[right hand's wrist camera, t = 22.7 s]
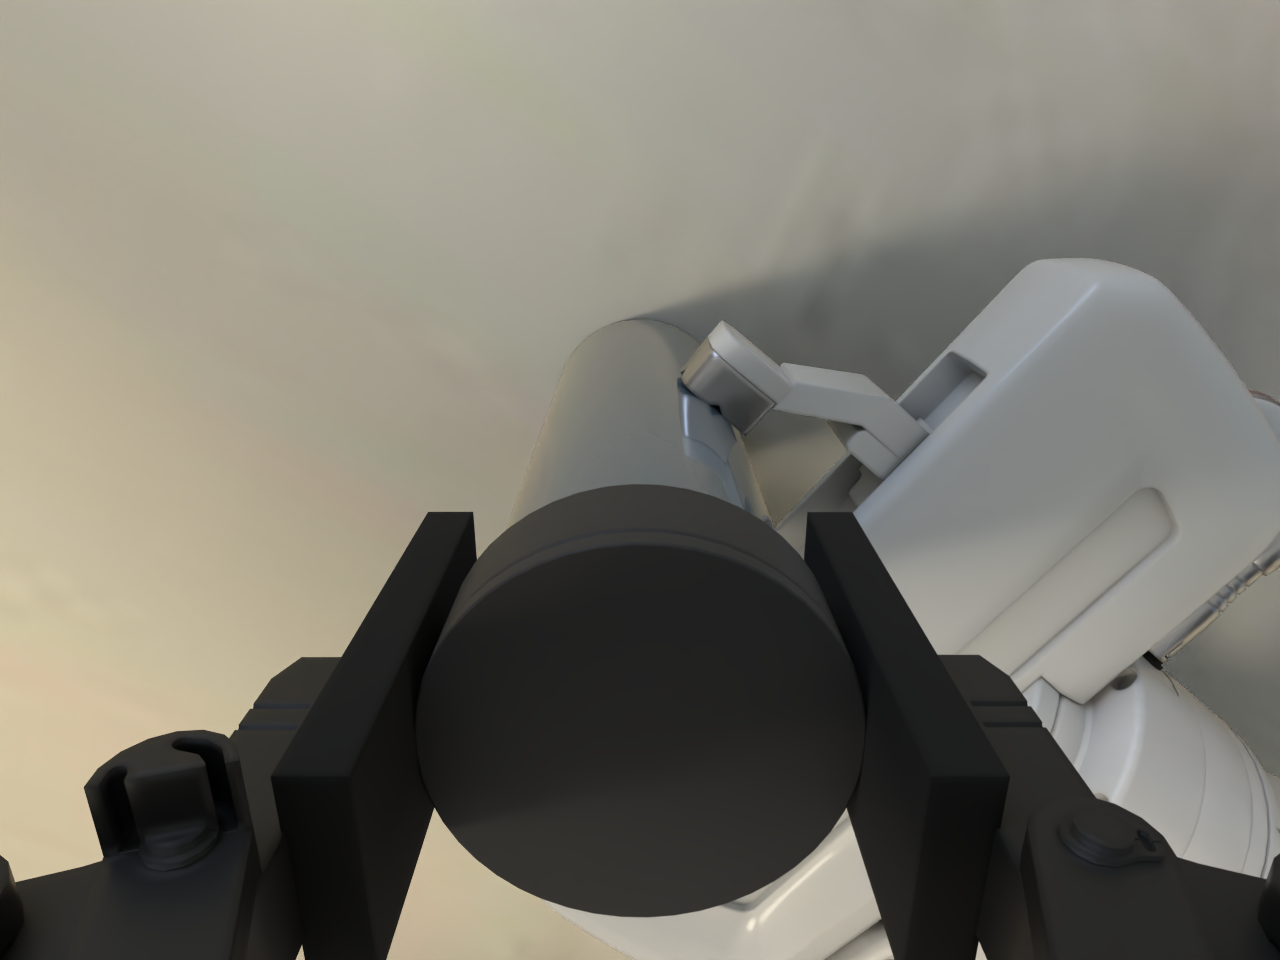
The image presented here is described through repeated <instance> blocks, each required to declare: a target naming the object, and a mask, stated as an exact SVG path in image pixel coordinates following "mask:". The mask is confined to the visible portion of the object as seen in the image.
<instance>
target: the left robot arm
mask: <svg viewBox="0 0 1280 960" xmlns="http://www.w3.org/2000/svg"><path fill="white" fill-rule="evenodd" d="M680 373H681V374H682V377H681V379H682V381H683V383H684V384H685V386H686V387H687V388H688V389H689V390H690V391H691V392H692V393H693V394H694V395H696V396H697V397H698V398H699V399H700V400H702V401H704V402H706V403H707V404H708V405H719V409H720V411H721V414H722V416H723V417H724V418H725V419H726V420H727V421H728V422H729V423H730V424H731V425H732V426H734V427H735V428H736V429H737V430H739V431H740V432H741V433H742V434H744V435H745V436H746V435H747V434H748V433H749V432H750V430H751V429H752V428H753V427H754V426H755V425H756V424H757V423H758V422H759V421H760V420H761V419H762V418H763V417H764V416H765V415H766V414H767V413H768V412H769V410H770V409H771V408H772V409H773V410H776V411H781V412H787V413H792V414H798V415H803V416H809V417H815V418H820V419H826V420H827V423H828V424H829V425H830V427H831V428H832V429H833V431H834V432H835V434H836V435H837V436H838V438H839V439H840V441H841V442H842V443H843V445H844V446H845V448H846V449H847V450H848V452H847V453H846V454H845V455H844V456H843V457H842V458H841V459H840V460H839V461H838V462H837V463H836V464H835V465H834V466H833V467H832V468H831V469H830V470H829V471H828V472H827V473H826V475H825V476H824V477H823V478H822V479H821V480H820V481H819V482H818V483H817V484H816V485H815V486H814V487H813V488H812V489H811V490H810V491H809V492H808V493H807V494H806V495H805V496H804V497H803V499H802V500H801V501H800V502H799V503H798V504H797V505H796V506H795V507H794V508H793V509H792V510H791V511H790V512H789V513H788V514H787V515H786V516H785V517H784V518H783V519H782V520H781V521H780V523H779V524H778V525H777V526H776V527H775V531H776V532H777V533H779V534H780V535H781V536H782V537H783V538H784V539H785V540H786V541H787V542H788V543H789V544H790V545H791V546H792V547H793V548H794V549H795V550H796V551H797V552H798V553H799V554H800V556H801V557H802V559H803V560H804V551H805V537H806V524H807V512H853V514H854V516H855V517H856V519H857V521H858V522H859V524H860V526H861V527H862V529H863V531H864V532H865V534H866V536H867V537H868V539H869V541H870V542H871V544H872V546H873V548H874V549H875V551H876V553H877V554H878V556H879V558H880V559H881V561H882V563H883V564H884V566H885V568H886V569H887V571H888V573H889V574H890V576H891V578H892V579H893V581H894V583H895V584H896V586H897V588H898V589H899V591H900V593H901V594H902V596H903V598H904V599H905V601H906V603H907V604H908V606H909V608H910V609H911V611H912V613H913V614H914V616H915V618H916V619H917V621H918V623H919V625H920V626H921V628H922V630H923V631H924V633H925V635H926V636H927V638H928V640H929V641H930V643H931V645H932V646H933V648H934V650H935V651H936V653H937V655H980V656H982V657H983V658H985V659H986V660H987V661H989V662H990V663H992V664H993V665H994V666H996V667H997V668H999V669H1000V670H1002V671H1003V672H1004V673H1006V674H1007V675H1009V676H1010V677H1011V679H1012V680H1013V682H1014V683H1015V684H1016V686H1017V687H1018V689H1019V690H1020V691H1021V693H1022V694H1023V696H1024V697H1025V698H1026V700H1027V704H1028V706H1031V707H1032V708H1033V710H1034V711H1035V713H1036V714H1037V715H1038V717H1039V718H1040V720H1041V721H1042V726H1043V727H1046V728H1047V729H1048V731H1049V732H1050V734H1051V735H1052V736H1053V738H1054V739H1055V741H1056V742H1057V743H1058V745H1059V746H1060V748H1061V749H1062V750H1063V752H1064V753H1065V755H1066V756H1067V757H1068V759H1069V760H1070V762H1071V763H1072V765H1073V766H1074V767H1075V769H1076V770H1077V772H1078V773H1079V774H1080V776H1081V777H1082V779H1083V780H1084V781H1085V783H1086V784H1087V786H1088V787H1089V788H1090V790H1091V791H1092V793H1093V794H1094V795H1095V797H1096V798H1097V799H1100V800H1104V801H1107V802H1111V803H1114V804H1117V805H1118V806H1120V807H1122V808H1124V809H1126V810H1128V811H1130V812H1132V813H1134V814H1136V815H1138V816H1139V817H1141V818H1143V819H1144V820H1145V821H1146V822H1148V823H1149V824H1150V825H1151V826H1152V827H1154V828H1155V829H1156V830H1157V831H1158V832H1159V833H1161V834H1162V835H1163V836H1164V837H1165V839H1166V840H1167V842H1168V844H1169V845H1170V847H1171V848H1172V850H1173V851H1174V853H1175V854H1176V856H1177V857H1179V858H1182V859H1186V860H1189V861H1192V862H1196V863H1199V864H1203V865H1207V866H1212V867H1216V868H1220V869H1225V870H1229V871H1233V872H1238V873H1242V874H1246V875H1251V876H1255V877H1259V878H1264V879H1267V877H1268V874H1269V871H1270V868H1271V865H1272V862H1273V859H1274V857H1276V856H1277V855H1278V854H1279V853H1280V778H1278V777H1276V776H1274V775H1272V774H1269V773H1267V772H1265V771H1264V769H1263V768H1262V766H1261V765H1260V763H1259V761H1258V760H1257V758H1256V756H1255V755H1254V753H1253V752H1252V751H1251V750H1250V749H1249V747H1248V746H1247V745H1246V744H1245V743H1244V741H1243V740H1242V739H1241V738H1240V737H1239V736H1238V734H1237V733H1236V732H1235V731H1233V730H1232V729H1231V728H1230V727H1229V726H1228V725H1227V724H1226V723H1225V722H1224V721H1223V720H1221V719H1220V718H1219V717H1218V716H1217V715H1215V714H1214V713H1213V712H1212V711H1211V710H1210V709H1208V708H1207V707H1206V706H1205V705H1204V704H1203V703H1201V702H1200V701H1199V700H1198V699H1197V698H1196V697H1194V696H1193V695H1192V694H1191V693H1190V692H1189V691H1187V690H1186V689H1185V688H1184V687H1183V686H1182V685H1180V684H1179V683H1178V682H1177V681H1176V680H1175V679H1173V678H1172V677H1171V676H1170V675H1169V674H1167V673H1166V672H1165V671H1164V670H1163V667H1162V666H1161V664H1163V663H1165V662H1166V661H1167V660H1168V658H1170V657H1172V656H1173V655H1174V654H1175V653H1177V652H1178V651H1179V650H1180V649H1181V648H1183V647H1184V646H1185V645H1186V644H1187V643H1189V642H1190V641H1191V640H1192V639H1193V638H1195V637H1196V636H1197V635H1198V634H1200V633H1201V632H1202V631H1203V630H1204V629H1206V628H1207V627H1208V626H1209V625H1210V624H1211V623H1212V622H1213V621H1214V620H1215V619H1216V618H1217V617H1218V616H1219V615H1220V612H1223V611H1224V610H1225V609H1226V608H1227V607H1228V603H1232V602H1233V600H1234V599H1235V598H1236V597H1237V596H1236V595H1237V594H1241V593H1242V592H1243V591H1244V590H1245V589H1246V588H1245V587H1246V586H1248V587H1249V586H1250V585H1251V584H1253V583H1254V582H1255V581H1256V580H1257V579H1258V578H1259V577H1261V576H1262V575H1265V576H1267V575H1269V574H1270V573H1272V572H1274V571H1275V570H1276V569H1278V568H1279V567H1280V403H1279V402H1278V401H1276V400H1275V399H1273V398H1272V397H1270V396H1268V395H1265V394H1263V393H1261V392H1258V391H1253V390H1248V389H1247V387H1246V386H1245V384H1244V383H1243V381H1242V380H1241V379H1240V377H1239V376H1238V374H1237V373H1236V371H1235V370H1234V368H1233V367H1232V365H1231V364H1230V363H1229V361H1228V360H1227V359H1226V357H1225V356H1224V355H1223V353H1222V352H1221V351H1220V349H1219V348H1218V347H1217V345H1216V344H1215V343H1214V342H1213V340H1212V339H1211V338H1210V336H1209V335H1208V334H1207V332H1206V331H1205V330H1204V329H1203V327H1202V326H1201V325H1200V324H1199V323H1198V321H1197V320H1196V319H1195V318H1194V317H1193V315H1192V314H1191V313H1190V312H1189V311H1188V310H1187V308H1186V307H1185V306H1184V305H1183V304H1182V303H1181V302H1180V300H1179V299H1178V298H1177V297H1176V296H1175V295H1174V294H1173V293H1172V292H1171V291H1170V290H1169V289H1168V288H1167V287H1166V286H1165V285H1163V284H1162V283H1161V282H1160V281H1158V280H1157V279H1156V278H1154V277H1152V276H1150V275H1148V274H1146V273H1144V272H1142V271H1140V270H1137V269H1134V268H1132V267H1129V266H1126V265H1123V264H1119V263H1115V262H1112V261H1106V260H1100V259H1092V258H1057V259H1042V260H1037V261H1034V262H1032V263H1030V264H1028V265H1027V266H1026V267H1025V268H1023V269H1022V270H1021V271H1020V272H1019V273H1018V274H1017V275H1016V276H1015V277H1014V278H1013V279H1012V280H1011V281H1010V282H1009V283H1008V284H1007V285H1006V286H1005V287H1004V288H1003V289H1002V291H1001V292H1000V293H999V294H998V295H997V296H996V297H995V298H994V299H993V300H992V301H991V302H990V303H989V304H988V305H987V306H986V307H985V308H984V309H983V310H982V311H981V312H980V314H979V315H978V316H977V317H976V318H975V319H974V320H973V321H972V322H971V323H970V324H969V325H968V326H967V327H966V328H965V329H964V330H963V331H962V332H961V333H960V334H959V335H958V337H957V338H956V339H955V340H954V341H953V342H952V343H951V344H950V345H949V346H948V347H947V348H946V349H945V350H944V351H943V352H942V353H941V354H940V355H939V356H938V357H937V358H936V360H935V361H934V362H933V363H932V364H931V365H930V366H929V367H928V368H927V369H926V370H925V371H924V372H923V373H922V374H921V375H920V376H919V377H918V378H917V379H916V380H915V381H914V383H913V384H912V385H911V386H910V387H909V388H908V389H907V390H906V391H905V392H904V393H903V394H902V395H901V396H900V397H899V398H898V399H897V400H896V401H894V400H893V399H892V398H891V397H889V396H888V395H887V394H886V393H885V392H884V391H882V390H881V389H880V388H879V387H878V386H877V385H875V384H874V383H873V382H872V381H871V380H870V379H868V378H867V377H866V376H865V375H863V374H857V373H850V372H843V371H837V370H830V369H824V368H817V367H810V366H804V365H797V364H790V363H784V362H783V363H782V364H781V365H780V366H778V365H777V364H776V363H775V362H774V361H772V360H771V359H770V358H769V357H768V356H767V355H765V354H764V353H763V352H762V351H761V350H759V349H758V348H757V347H756V346H755V345H754V344H752V343H751V342H750V341H749V340H748V339H746V338H745V337H744V336H743V335H742V334H741V333H739V332H738V331H737V330H736V329H735V328H733V327H732V326H730V325H729V324H727V323H726V322H724V321H723V320H721V321H720V323H719V324H718V325H717V326H716V327H715V329H714V330H713V331H712V332H711V333H710V334H709V336H708V337H707V338H706V339H705V340H704V341H703V343H702V344H701V345H700V346H699V347H698V349H697V350H696V351H695V352H694V353H693V355H692V356H691V357H690V358H689V360H688V361H687V362H686V363H685V364H684V366H683V367H682V368H681V369H680ZM540 899H541V898H540ZM541 900H542V901H543V902H544V903H545V904H546V905H547V906H548V907H550V908H551V909H552V910H554V911H555V912H556V913H558V914H559V915H560V916H561V917H563V918H564V919H566V920H568V921H569V922H571V923H572V924H574V925H576V926H577V927H579V928H580V929H582V930H584V931H585V932H587V933H588V934H590V935H592V936H593V937H595V938H597V939H598V940H600V941H602V942H603V943H605V944H607V945H609V946H610V947H612V948H614V949H616V950H617V951H619V952H621V953H623V954H625V955H626V956H628V957H630V958H632V959H634V960H894V957H893V954H892V950H891V947H890V944H889V941H888V938H887V935H886V931H885V928H884V925H883V922H882V919H881V916H880V913H879V909H878V906H877V903H876V900H875V897H874V894H873V890H872V887H871V884H870V881H869V878H868V875H867V871H866V868H865V865H864V862H863V859H862V856H861V852H860V849H859V846H858V843H857V840H856V837H855V834H854V830H853V827H852V824H851V821H850V818H849V815H848V811H847V808H846V810H845V811H844V813H843V814H842V816H841V817H840V819H839V820H838V822H837V823H836V825H835V826H834V828H833V829H832V831H831V832H830V833H829V834H828V835H827V837H826V838H825V839H824V840H823V841H822V842H821V843H820V844H819V846H818V847H817V848H816V849H815V850H814V851H813V852H812V853H811V854H810V855H808V856H807V857H806V858H805V859H804V860H803V861H802V862H800V863H799V864H798V865H797V866H796V867H795V868H793V869H792V870H790V871H789V872H787V873H786V874H784V875H783V876H781V877H780V878H779V879H777V880H776V881H774V882H772V883H770V884H769V885H767V886H765V887H763V888H761V889H759V890H757V891H755V892H753V893H752V894H749V895H747V896H744V897H742V898H739V899H737V900H734V901H732V902H729V903H727V904H723V905H720V906H716V907H713V908H709V909H706V910H702V911H697V912H692V913H686V914H680V915H675V916H661V917H648V918H646V917H617V916H609V915H601V914H593V913H589V912H585V911H580V910H576V909H571V908H567V907H564V906H561V905H558V904H555V903H552V902H549V901H546V900H543V899H541ZM975 960H987V959H986V956H985V954H984V952H983V949H982V947H981V945H980V942H979V943H978V949H977V954H976V959H975Z"/></svg>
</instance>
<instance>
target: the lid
mask: <svg viewBox="0 0 1280 960" xmlns="http://www.w3.org/2000/svg"><path fill="white" fill-rule="evenodd" d="M866 723H867V715H866V709H865V703H864V697H863V691H862V688H861V685H860V682H859V679H858V676H857V673H856V670H855V667H854V665H853V662H852V660H851V657H850V655H849V653H848V651H847V648H846V646H845V643H844V641H843V638H842V636H841V634H840V631H839V629H838V626H837V624H836V622H835V619H834V617H833V615H832V612H831V610H830V607H829V605H828V603H827V600H826V598H825V596H824V593H823V591H822V589H821V588H820V586H819V584H818V582H817V580H816V578H815V576H814V574H813V572H812V571H811V570H810V568H809V567H808V566H807V564H806V563H805V561H804V560H803V559H802V557H801V556H800V554H799V553H798V552H797V551H796V550H795V549H794V548H793V547H792V546H791V545H790V544H789V543H788V542H787V541H786V540H785V539H784V538H783V537H782V536H781V535H780V534H779V533H777V532H776V531H775V530H774V529H772V528H771V527H770V526H768V525H767V524H766V523H765V522H763V521H762V520H761V519H759V518H757V517H755V516H754V515H752V514H750V513H749V512H747V511H745V510H744V509H742V508H740V507H738V506H736V505H733V504H731V503H729V502H726V501H724V500H722V499H719V498H717V497H715V496H711V495H708V494H704V493H701V492H697V491H694V490H690V489H685V488H678V487H672V486H665V485H650V484H628V485H617V486H607V487H601V488H597V489H592V490H588V491H583V492H579V493H576V494H573V495H570V496H567V497H565V498H562V499H559V500H556V501H553V502H551V503H549V504H547V505H546V506H544V507H542V508H540V509H538V510H536V511H534V512H532V513H530V514H528V515H527V516H525V517H524V518H522V519H521V520H520V521H518V522H517V523H515V524H514V525H512V526H511V527H509V528H508V529H507V530H506V531H505V532H504V533H502V534H501V535H500V536H499V537H498V538H497V539H496V540H495V541H494V542H493V543H491V544H490V545H489V547H488V548H487V549H486V550H485V551H484V553H483V554H482V555H481V556H480V557H479V559H478V560H477V561H476V562H475V563H474V565H473V566H472V568H471V570H470V571H469V573H468V575H467V576H466V578H465V580H464V581H463V583H462V585H461V587H460V589H459V592H458V594H457V597H456V599H455V601H454V604H453V606H452V608H451V611H450V613H449V616H448V618H447V620H446V623H445V625H444V627H443V630H442V632H441V635H440V637H439V639H438V642H437V644H436V647H435V649H434V651H433V654H432V656H431V658H430V661H429V663H428V666H427V668H426V670H425V673H424V675H423V678H422V681H421V685H420V689H419V693H418V697H417V701H416V707H415V719H414V731H415V741H416V750H417V758H418V765H419V769H420V773H421V778H422V780H423V783H424V785H425V788H426V790H427V793H428V795H429V798H430V800H431V802H432V804H433V805H434V807H435V809H436V811H437V812H438V814H439V816H440V817H441V819H442V821H443V822H444V824H445V825H446V826H447V828H448V829H449V830H450V831H451V833H452V834H453V835H454V837H455V838H456V839H457V840H458V842H459V843H460V844H461V845H462V846H463V847H464V848H465V849H466V850H467V851H468V852H469V853H470V854H472V855H473V856H474V857H475V858H476V859H477V860H478V861H479V862H481V863H482V864H483V865H484V866H486V867H487V868H488V869H490V870H491V871H492V872H493V873H495V874H496V875H498V876H499V877H501V878H503V879H504V880H506V881H508V882H509V883H511V884H513V885H514V886H516V887H518V888H519V889H522V890H524V891H526V892H528V893H530V894H532V895H535V896H537V897H539V898H541V899H543V900H546V901H549V902H552V903H555V904H558V905H561V906H564V907H567V908H571V909H576V910H580V911H585V912H589V913H593V914H601V915H609V916H617V917H646V918H648V917H661V916H675V915H680V914H686V913H692V912H697V911H702V910H706V909H709V908H713V907H716V906H720V905H723V904H727V903H729V902H732V901H734V900H737V899H739V898H742V897H744V896H747V895H749V894H752V893H753V892H755V891H757V890H759V889H761V888H763V887H765V886H767V885H769V884H770V883H772V882H774V881H776V880H777V879H779V878H780V877H781V876H783V875H784V874H786V873H787V872H789V871H790V870H792V869H793V868H795V867H796V866H797V865H798V864H799V863H800V862H802V861H803V860H804V859H805V858H806V857H807V856H808V855H810V854H811V853H812V852H813V851H814V850H815V849H816V848H817V847H818V846H819V844H820V843H821V842H822V841H823V840H824V839H825V838H826V837H827V835H828V834H829V833H830V832H831V831H832V829H833V828H834V826H835V825H836V823H837V822H838V820H839V819H840V817H841V816H842V814H843V813H844V811H845V810H846V807H847V805H848V803H849V801H850V799H851V797H852V795H853V793H854V791H855V789H856V786H857V782H858V779H859V776H860V773H861V770H862V764H863V755H864V747H865V738H866Z"/></svg>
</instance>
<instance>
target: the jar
mask: <svg viewBox="0 0 1280 960" xmlns="http://www.w3.org/2000/svg"><path fill="white" fill-rule="evenodd" d="M699 346H700V344H699V343H698V342H697V341H696V340H695V339H694V338H693V337H691V336H690V335H689V334H687V333H686V332H684V331H682V330H681V329H679V328H677V327H674V326H672V325H670V324H667V323H663V322H660V321H655V320H647V319H634V320H626V321H621V322H617V323H614V324H611V325H609V326H606V327H604V328H602V329H600V330H598V331H597V332H595V333H593V334H592V335H591V336H589V337H588V338H587V339H585V340H584V341H583V342H582V343H581V344H580V345H579V346H578V347H577V348H576V350H575V351H574V352H573V354H572V355H571V356H570V358H569V360H568V362H567V364H566V365H565V368H564V370H563V373H562V375H561V378H560V381H559V384H558V386H557V389H556V392H555V395H554V397H553V400H552V403H551V406H550V408H549V411H548V414H547V417H546V419H545V422H544V425H543V428H542V431H541V433H540V436H539V439H538V442H537V444H536V447H535V450H534V453H533V455H532V458H531V461H530V464H529V466H528V469H527V472H526V475H525V478H524V480H523V483H522V486H521V489H520V491H519V494H518V497H517V500H516V502H515V505H514V508H513V511H512V513H511V516H510V519H509V522H508V525H507V527H506V530H507V529H508V528H509V527H511V526H512V525H514V524H515V523H517V522H518V521H520V520H521V519H522V518H524V517H525V516H527V515H528V514H530V513H532V512H534V511H536V510H538V509H540V508H542V507H544V506H546V505H547V504H549V503H551V502H553V501H556V500H559V499H562V498H565V497H567V496H570V495H573V494H576V493H579V492H583V491H588V490H592V489H597V488H601V487H607V486H617V485H628V484H650V485H665V486H672V487H678V488H685V489H690V490H694V491H697V492H701V493H704V494H708V495H711V496H715V497H717V498H719V499H722V500H724V501H726V502H729V503H731V504H733V505H736V506H738V507H740V508H742V509H744V510H745V511H747V512H749V513H750V514H752V515H754V516H755V517H757V518H759V519H761V520H762V521H763V522H765V523H766V524H767V525H768V526H770V527H771V528H772V529H774V530H775V528H774V525H773V523H772V520H771V517H770V514H769V511H768V509H767V506H766V503H765V500H764V498H763V495H762V492H761V489H760V487H759V484H758V481H757V478H756V476H755V473H754V470H753V467H752V465H751V462H750V459H749V456H748V454H747V451H746V448H745V445H744V443H743V440H742V437H741V434H740V432H739V430H737V429H736V428H735V427H734V426H732V425H731V424H730V423H729V422H728V421H727V420H726V419H725V418H724V417H723V416H722V414H721V411H720V409H719V405H708V404H707V403H706V402H704V401H702V400H700V399H699V398H698V397H697V396H696V395H694V394H693V393H692V392H691V391H690V390H689V389H688V388H687V387H686V386H685V384H684V383H683V381H682V379H681V377H682V374H681V373H680V369H681V368H682V367H683V366H684V364H685V363H686V362H687V361H688V360H689V358H690V357H691V356H692V355H693V353H694V352H695V351H696V350H697V349H698V347H699ZM506 530H505V531H506Z"/></svg>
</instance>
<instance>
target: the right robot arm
mask: <svg viewBox="0 0 1280 960" xmlns="http://www.w3.org/2000/svg"><path fill="white" fill-rule="evenodd" d="M476 561H477V557H476V544H475V530H474V517H473V512H428V513H427V515H426V517H425V518H424V520H423V522H422V523H421V525H420V527H419V528H418V530H417V532H416V533H415V535H414V537H413V538H412V540H411V542H410V543H409V545H408V547H407V548H406V550H405V552H404V553H403V555H402V557H401V558H400V560H399V562H398V563H397V565H396V567H395V569H394V570H393V572H392V574H391V575H390V577H389V579H388V580H387V582H386V584H385V585H384V587H383V589H382V590H381V592H380V594H379V595H378V597H377V599H376V600H375V602H374V604H373V605H372V607H371V609H370V610H369V612H368V614H367V615H366V617H365V619H364V620H363V622H362V624H361V625H360V627H359V629H358V630H357V632H356V634H355V635H354V637H353V639H352V641H351V642H350V644H349V646H348V647H347V649H346V651H345V652H344V654H343V656H342V657H301V658H300V659H299V660H297V661H296V662H294V663H293V664H292V665H290V666H289V667H287V668H286V669H285V670H283V671H282V672H280V673H279V674H278V675H276V676H275V677H273V678H272V679H271V680H270V682H269V683H268V684H267V686H266V687H265V689H264V690H263V691H262V693H261V694H260V696H259V697H258V699H257V700H256V701H255V703H254V707H253V709H250V710H249V711H248V713H247V714H246V715H245V717H244V718H243V720H242V721H241V723H240V724H239V729H238V730H235V731H234V732H233V734H232V735H231V737H230V738H228V737H226V736H225V735H224V734H219V733H215V732H211V731H206V730H193V731H177V732H173V733H169V734H165V735H161V736H157V737H154V738H150V739H147V740H145V741H143V742H141V743H138V744H136V745H134V746H132V747H130V748H128V749H126V750H123V751H121V752H120V753H118V754H117V755H116V756H114V757H113V758H112V759H110V760H109V761H107V762H106V763H105V764H103V765H102V766H101V767H99V768H98V769H97V770H96V772H95V773H94V774H93V776H92V777H91V778H90V780H89V781H88V782H87V784H86V785H85V786H84V790H85V793H86V797H87V800H88V804H89V807H90V811H91V814H92V818H93V821H94V825H95V828H96V832H97V835H98V839H99V842H100V846H101V849H102V852H103V856H104V857H103V860H102V861H100V862H97V863H93V864H90V865H87V866H83V867H80V868H75V869H71V870H67V871H62V872H58V873H54V874H49V875H45V876H41V877H36V878H32V879H28V880H24V881H19V882H15V880H14V877H13V875H12V872H11V869H10V866H9V863H8V861H7V860H6V859H4V858H3V857H2V856H1V855H0V960H295V959H296V957H297V955H298V953H299V950H300V948H301V946H303V951H304V956H305V960H386V958H387V955H388V952H389V949H390V946H391V943H392V939H393V936H394V933H395V930H396V927H397V924H398V920H399V917H400V914H401V911H402V908H403V905H404V901H405V898H406V895H407V892H408V889H409V886H410V883H411V879H412V876H413V873H414V870H415V867H416V864H417V860H418V857H419V854H420V851H421V848H422V845H423V841H424V838H425V835H426V832H427V829H428V826H429V822H430V819H431V816H432V813H433V810H434V805H433V804H432V802H431V800H430V798H429V795H428V793H427V790H426V788H425V785H424V783H423V780H422V778H421V773H420V769H419V765H418V758H417V750H416V741H415V731H414V719H415V707H416V701H417V697H418V693H419V689H420V685H421V681H422V678H423V675H424V673H425V670H426V668H427V666H428V663H429V661H430V658H431V656H432V654H433V651H434V649H435V647H436V644H437V642H438V639H439V637H440V635H441V632H442V630H443V627H444V625H445V623H446V620H447V618H448V616H449V613H450V611H451V608H452V606H453V604H454V601H455V599H456V597H457V594H458V592H459V589H460V587H461V585H462V583H463V581H464V580H465V578H466V576H467V575H468V573H469V571H470V570H471V568H472V566H473V565H474V563H475V562H476ZM804 561H805V563H806V564H807V566H808V567H809V568H810V570H811V571H812V572H813V574H814V576H815V578H816V580H817V582H818V584H819V586H820V588H821V589H822V591H823V593H824V596H825V598H826V600H827V603H828V605H829V607H830V610H831V612H832V615H833V617H834V619H835V622H836V624H837V626H838V629H839V631H840V634H841V636H842V638H843V641H844V643H845V646H846V648H847V651H848V653H849V655H850V657H851V660H852V662H853V665H854V667H855V670H856V673H857V676H858V679H859V682H860V685H861V688H862V691H863V697H864V703H865V709H866V715H867V723H866V738H865V747H864V755H863V764H862V770H861V773H860V776H859V779H858V782H857V786H856V789H855V791H854V793H853V795H852V797H851V799H850V801H849V803H848V805H847V807H846V808H847V811H848V815H849V818H850V821H851V824H852V827H853V830H854V834H855V837H856V840H857V843H858V846H859V849H860V852H861V856H862V859H863V862H864V865H865V868H866V871H867V875H868V878H869V881H870V884H871V887H872V890H873V894H874V897H875V900H876V903H877V906H878V909H879V913H880V916H881V919H882V922H883V925H884V928H885V931H886V935H887V938H888V941H889V944H890V947H891V950H892V954H893V957H894V960H975V959H976V954H977V949H978V943H979V942H980V945H981V947H982V949H983V952H984V954H985V956H986V959H987V960H1280V853H1279V854H1278V855H1277V856H1276V857H1274V859H1273V862H1272V865H1271V868H1270V871H1269V874H1268V877H1267V879H1264V878H1259V877H1255V876H1251V875H1246V874H1242V873H1238V872H1233V871H1229V870H1225V869H1220V868H1216V867H1212V866H1207V865H1203V864H1199V863H1196V862H1192V861H1189V860H1186V859H1182V858H1179V857H1177V856H1176V854H1175V853H1174V851H1173V850H1172V848H1171V847H1170V845H1169V844H1168V842H1167V840H1166V839H1165V837H1164V836H1163V835H1162V834H1161V833H1159V832H1158V831H1157V830H1156V829H1155V828H1154V827H1152V826H1151V825H1150V824H1149V823H1148V822H1146V821H1145V820H1144V819H1143V818H1141V817H1139V816H1138V815H1136V814H1134V813H1132V812H1130V811H1128V810H1126V809H1124V808H1122V807H1120V806H1118V805H1117V804H1114V803H1111V802H1107V801H1104V800H1100V799H1097V798H1096V797H1095V795H1094V794H1093V793H1092V791H1091V790H1090V788H1089V787H1088V786H1087V784H1086V783H1085V781H1084V780H1083V779H1082V777H1081V776H1080V774H1079V773H1078V772H1077V770H1076V769H1075V767H1074V766H1073V765H1072V763H1071V762H1070V760H1069V759H1068V757H1067V756H1066V755H1065V753H1064V752H1063V750H1062V749H1061V748H1060V746H1059V745H1058V743H1057V742H1056V741H1055V739H1054V738H1053V736H1052V735H1051V734H1050V732H1049V731H1048V729H1047V728H1046V727H1043V726H1042V721H1041V720H1040V718H1039V717H1038V715H1037V714H1036V713H1035V711H1034V710H1033V708H1032V707H1031V706H1028V704H1027V700H1026V698H1025V697H1024V696H1023V694H1022V693H1021V691H1020V690H1019V689H1018V687H1017V686H1016V684H1015V683H1014V682H1013V680H1012V679H1011V677H1010V676H1009V675H1007V674H1006V673H1004V672H1003V671H1002V670H1000V669H999V668H997V667H996V666H994V665H993V664H992V663H990V662H989V661H987V660H986V659H985V658H983V657H982V656H980V655H937V653H936V651H935V650H934V648H933V646H932V645H931V643H930V641H929V640H928V638H927V636H926V635H925V633H924V631H923V630H922V628H921V626H920V625H919V623H918V621H917V619H916V618H915V616H914V614H913V613H912V611H911V609H910V608H909V606H908V604H907V603H906V601H905V599H904V598H903V596H902V594H901V593H900V591H899V589H898V588H897V586H896V584H895V583H894V581H893V579H892V578H891V576H890V574H889V573H888V571H887V569H886V568H885V566H884V564H883V563H882V561H881V559H880V558H879V556H878V554H877V553H876V551H875V549H874V548H873V546H872V544H871V542H870V541H869V539H868V537H867V536H866V534H865V532H864V531H863V529H862V527H861V526H860V524H859V522H858V521H857V519H856V517H855V516H854V514H853V512H807V524H806V537H805V551H804Z"/></svg>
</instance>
